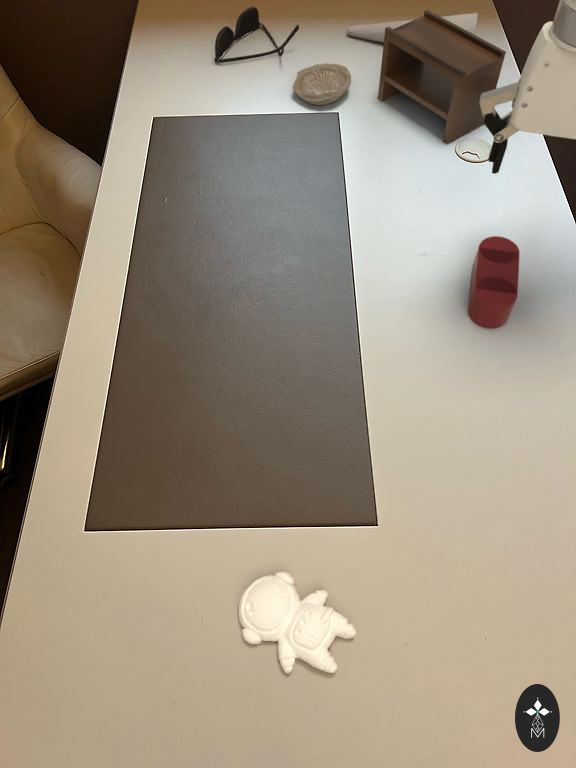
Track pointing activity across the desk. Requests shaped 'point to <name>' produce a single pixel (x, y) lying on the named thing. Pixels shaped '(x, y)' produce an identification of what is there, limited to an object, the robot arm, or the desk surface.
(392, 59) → the rack
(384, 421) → the desk surface
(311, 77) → the fossil
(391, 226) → the desk surface
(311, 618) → the astronaut figurine
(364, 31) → the pale tapered cone
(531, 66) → the robot arm
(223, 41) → the sunglasses
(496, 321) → the red rounded block
